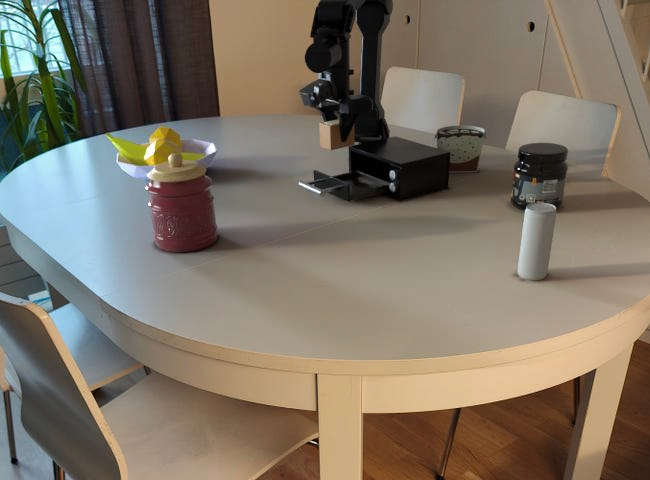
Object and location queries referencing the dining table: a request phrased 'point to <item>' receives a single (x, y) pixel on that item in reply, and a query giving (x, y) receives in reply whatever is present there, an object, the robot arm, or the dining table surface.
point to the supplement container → (539, 175)
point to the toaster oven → (402, 166)
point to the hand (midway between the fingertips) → (337, 139)
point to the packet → (334, 136)
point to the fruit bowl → (160, 151)
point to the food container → (461, 146)
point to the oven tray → (346, 185)
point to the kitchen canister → (181, 205)
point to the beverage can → (536, 241)
